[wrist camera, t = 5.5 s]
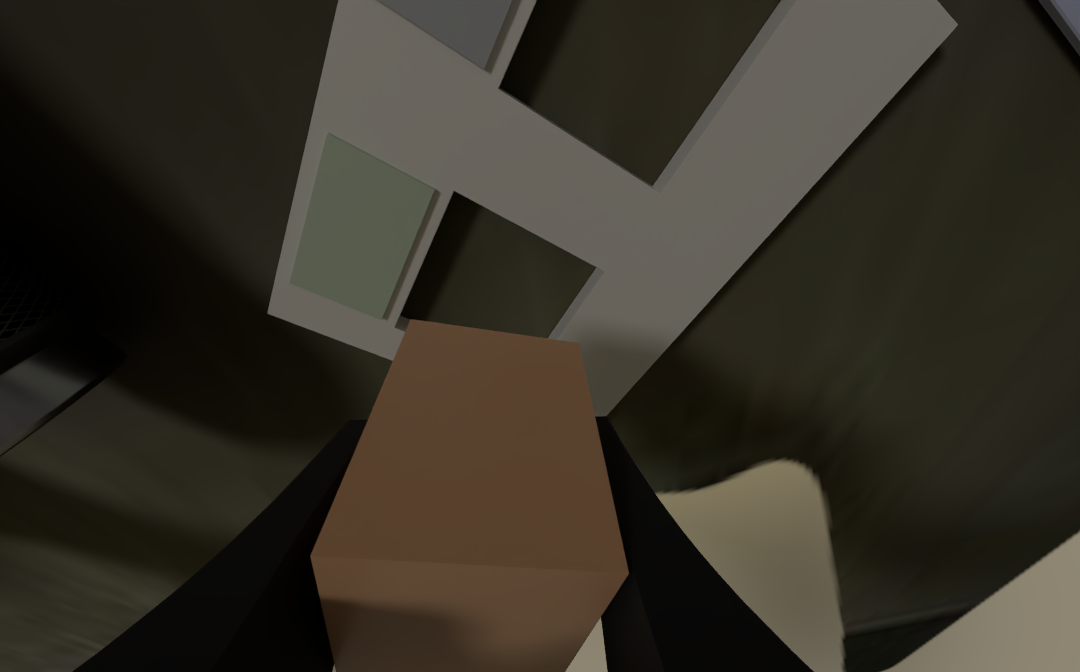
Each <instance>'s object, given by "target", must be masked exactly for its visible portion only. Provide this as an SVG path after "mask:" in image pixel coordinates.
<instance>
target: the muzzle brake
mask: <svg viewBox="0 0 1080 672" xmlns="http://www.w3.org/2000/svg"><path fill="white" fill-rule="evenodd" d="M97 318H98V317H97V315H96V313H95V310H94V308H93V306H92V304H91V303H90V301H89V300H88V299H87V298H85V297H84V296H82V295H81V294H80V293H78V292H77V291H76V290H74V289H73V288H72V287H70V286H69V285H67V284H66V283H65V282H63V281H62V280H61V279H59V278H58V277H57V276H55V275H54V274H53V273H51V272H50V271H48V270H47V269H46V268H44V267H43V266H42V265H40V264H39V263H38V262H36V261H35V260H33V259H32V258H31V257H29V256H28V255H27V254H25V253H24V252H23V251H21V250H20V249H19V248H17V247H16V246H14V245H13V244H12V243H10V242H9V241H8V240H6V239H5V238H4V237H2V236H1V235H0V457H1V456H2V455H4V454H5V453H6V452H8V451H9V450H11V449H12V448H13V447H15V446H16V445H18V444H19V443H20V442H22V441H23V440H25V439H26V438H27V437H29V436H30V435H31V434H33V433H34V432H35V431H37V430H38V429H40V428H41V427H42V426H44V425H45V424H46V423H48V422H49V421H50V420H52V419H53V418H55V417H56V416H57V415H59V414H60V413H61V412H63V411H64V410H65V409H67V408H68V407H69V406H71V405H72V404H73V403H75V402H76V401H77V400H79V399H80V398H81V397H82V396H84V395H85V394H86V393H88V392H89V391H90V390H91V389H93V388H94V387H95V386H97V385H98V384H99V383H100V382H102V381H103V380H104V379H105V378H107V377H108V376H109V375H110V374H111V373H113V372H114V371H115V370H116V369H117V368H118V367H120V366H121V365H122V363H123V362H124V361H125V360H126V358H127V355H126V353H125V352H124V351H123V350H121V349H120V348H118V347H117V346H116V345H114V344H113V343H111V342H110V341H108V340H107V339H106V338H104V337H103V336H101V335H100V334H98V333H97V332H96V331H94V330H93V329H91V328H90V327H88V325H89V324H91V323H92V322H93V321H95V320H96V319H97Z"/></svg>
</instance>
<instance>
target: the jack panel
mask: <svg viewBox="0 0 1080 672" xmlns="http://www.w3.org/2000/svg"><path fill="white" fill-rule="evenodd" d="M536 2H537V0H339V1H338V5H337V10H336V14H335V18H334V23H333V27H332V32H331V36H330V40H329V45H328V49H327V53H326V58H325V62H324V67H323V71H322V75H321V80H320V84H319V89H318V93H317V97H316V102H315V106H314V111H313V115H312V119H311V124H310V128H309V133H308V137H307V141H306V146H305V150H304V155H303V159H302V163H301V168H300V172H299V176H298V181H297V185H296V190H295V194H294V198H293V203H292V207H291V212H290V216H289V220H288V225H287V229H286V234H285V238H284V242H283V247H282V251H281V256H280V260H279V264H278V269H277V273H276V278H275V282H274V286H273V291H272V295H271V299H270V304H269V308H268V313H267V314H270V315H272V316H275V317H278V318H280V319H283V320H286V321H288V322H291V323H294V324H296V325H299V326H302V327H304V328H307V329H310V330H312V331H315V332H318V333H320V334H323V335H326V336H328V337H331V338H334V339H336V340H339V341H342V342H344V343H347V344H350V345H352V346H355V347H358V348H360V349H363V350H366V351H368V352H371V353H374V354H376V355H379V356H382V357H384V358H387V359H390V360H392V361H393V360H394V357H395V355H396V353H397V350H398V348H399V346H400V343H401V341H402V339H403V336H404V334H405V331H406V329H407V327H408V324H409V322H410V319H407V318H405V317H402V316H400V314H401V312H402V310H403V307H404V305H405V303H406V300H407V298H408V296H409V293H410V291H411V289H412V287H413V284H414V282H415V280H416V277H417V275H418V273H419V271H420V268H421V266H422V264H423V261H424V259H425V257H426V254H427V252H428V250H429V248H430V245H431V243H432V241H433V238H434V236H435V234H436V231H437V229H438V227H439V225H440V222H441V220H442V218H443V215H444V213H445V211H446V209H447V206H448V204H449V202H450V199H451V197H452V195H453V192H454V191H456V192H457V193H459V194H461V195H463V196H465V197H467V198H469V199H470V200H472V201H474V202H476V203H478V204H480V205H482V206H484V207H485V208H487V209H489V210H491V211H493V212H495V213H497V214H498V215H500V216H502V217H504V218H506V219H508V220H510V221H512V222H513V223H515V224H517V225H519V226H521V227H523V228H525V229H527V230H528V231H530V232H532V233H534V234H536V235H538V236H540V237H541V238H543V239H545V240H547V241H549V242H551V243H553V244H555V245H556V246H558V247H560V248H562V249H564V250H566V251H568V252H569V253H571V254H573V255H575V256H577V257H579V258H581V259H583V260H584V261H586V262H588V263H590V264H592V265H594V266H596V267H597V268H596V269H595V271H594V272H593V273H592V275H591V276H590V278H589V279H588V281H587V282H586V284H585V285H584V286H583V288H582V289H581V291H580V292H579V294H578V295H577V297H576V298H575V299H574V301H573V302H572V304H571V305H570V307H569V308H568V310H567V311H566V312H565V314H564V315H563V317H562V318H561V320H560V321H559V323H558V324H557V326H556V327H555V328H554V330H553V331H552V333H551V334H550V336H549V337H548V339H554V340H561V341H568V342H575V343H579V345H580V350H581V354H582V359H583V363H584V368H585V373H586V377H587V382H588V386H589V391H590V396H591V400H592V405H593V410H594V414H595V416H607V415H608V414H609V412H610V411H611V410H612V409H613V408H614V407H615V406H616V405H617V404H618V402H619V401H620V400H621V399H622V398H623V397H624V396H625V395H626V394H627V392H628V391H629V390H630V389H631V388H632V387H633V386H634V385H635V383H636V382H637V381H638V380H639V379H640V378H641V377H642V376H643V375H644V373H645V372H646V371H647V370H648V369H649V368H650V367H651V366H652V365H653V363H654V362H655V361H656V360H657V359H658V358H659V357H660V356H661V355H662V353H663V352H664V351H665V350H666V349H667V348H668V347H669V346H670V345H671V343H672V342H673V341H674V340H675V339H676V338H677V337H678V336H679V335H680V333H681V332H682V331H683V330H684V329H685V328H686V327H687V326H688V325H689V323H690V322H691V321H692V320H693V319H694V318H695V317H696V316H697V315H698V313H699V312H700V311H701V310H702V309H703V308H704V307H705V306H706V305H707V303H708V302H709V301H710V300H711V299H712V298H713V297H714V296H715V295H716V293H717V292H718V291H719V290H720V289H721V288H722V287H723V286H724V285H725V283H726V282H727V281H728V280H729V279H730V278H731V277H732V276H733V275H734V273H735V272H736V271H737V270H738V269H739V268H740V267H741V266H742V264H743V263H744V262H745V261H746V260H747V259H748V258H749V257H750V256H751V254H752V253H753V252H754V251H755V250H756V249H757V248H758V247H759V246H760V244H761V243H762V242H763V241H764V240H765V239H766V238H767V237H768V236H769V234H770V233H771V232H772V231H773V230H774V229H775V228H776V227H777V226H778V224H779V223H780V222H781V221H782V220H783V219H784V218H785V217H786V216H787V214H788V213H789V212H790V211H791V210H792V209H793V208H794V207H795V206H796V204H797V203H798V202H799V201H800V200H801V199H802V198H803V197H804V196H805V194H806V193H807V192H808V191H809V190H810V189H811V188H812V187H813V186H814V184H815V183H816V182H817V181H818V180H819V179H820V178H821V177H822V176H823V174H824V173H825V172H826V171H827V170H828V169H829V168H830V167H831V166H832V164H833V163H834V162H835V161H836V160H837V159H838V158H839V157H840V156H841V154H842V153H843V152H844V151H845V150H846V149H847V148H848V147H849V145H850V144H851V143H852V142H853V141H854V140H855V139H856V138H857V137H858V135H859V134H860V133H861V132H862V131H863V130H864V129H865V128H866V127H867V125H868V124H869V123H870V122H871V121H872V120H873V119H874V118H875V117H876V115H877V114H878V113H879V112H880V111H881V110H882V109H883V108H884V107H885V105H886V104H887V103H888V102H889V101H890V100H891V99H892V98H893V97H894V95H895V94H896V93H897V92H898V91H899V90H900V89H901V88H902V87H903V85H904V84H905V83H906V82H907V81H908V80H909V79H910V78H911V77H912V75H913V74H914V73H915V72H916V71H917V70H918V69H919V68H920V67H921V65H922V64H923V63H924V62H925V61H926V60H927V59H928V58H929V57H930V55H931V54H932V53H933V52H934V51H935V50H936V49H937V48H938V47H939V45H940V44H941V43H942V42H943V41H944V40H945V39H946V38H947V37H948V35H949V34H950V33H951V32H952V31H953V30H954V29H955V28H956V27H957V25H958V24H957V23H956V22H955V21H954V20H953V18H952V17H951V16H950V15H949V14H948V13H947V11H946V10H945V9H944V8H943V7H942V6H941V5H940V3H939V2H938V1H937V0H781V1H780V3H779V4H778V6H777V7H776V9H775V10H774V11H773V13H772V14H771V16H770V17H769V19H768V20H767V22H766V23H765V24H764V26H763V27H762V29H761V30H760V32H759V33H758V35H757V36H756V38H755V39H754V40H753V42H752V43H751V45H750V46H749V48H748V49H747V51H746V52H745V53H744V55H743V56H742V58H741V59H740V61H739V62H738V64H737V65H736V66H735V68H734V69H733V71H732V72H731V74H730V75H729V77H728V78H727V79H726V81H725V82H724V84H723V85H722V87H721V88H720V90H719V91H718V93H717V94H716V95H715V97H714V98H713V100H712V101H711V103H710V104H709V106H708V107H707V108H706V110H705V111H704V113H703V114H702V116H701V117H700V119H699V120H698V121H697V123H696V124H695V126H694V127H693V129H692V130H691V132H690V133H689V134H688V136H687V137H686V139H685V140H684V142H683V143H682V145H681V146H680V148H679V149H678V150H677V152H676V153H675V155H674V156H673V158H672V159H671V161H670V162H669V163H668V165H667V166H666V168H665V169H664V171H663V172H662V174H661V175H660V176H659V178H658V179H657V181H656V182H655V184H654V185H653V186H652V185H650V184H649V183H647V182H645V181H644V180H642V179H641V178H639V177H638V176H636V175H635V174H633V173H632V172H630V171H628V170H627V169H625V168H624V167H622V166H621V165H619V164H618V163H616V162H614V161H613V160H611V159H610V158H608V157H607V156H605V155H604V154H602V153H601V152H599V151H597V150H596V149H594V148H593V147H591V146H590V145H588V144H587V143H585V142H583V141H582V140H580V139H579V138H577V137H576V136H574V135H573V134H571V133H570V132H568V131H566V130H565V129H563V128H562V127H560V126H559V125H557V124H556V123H554V122H553V121H551V120H549V119H548V118H546V117H545V116H543V115H542V114H540V113H539V112H537V111H535V110H534V109H532V108H531V107H529V106H528V105H526V104H525V103H523V102H522V101H520V100H518V99H517V98H515V97H514V96H512V95H511V94H509V93H508V92H506V91H504V90H503V89H501V88H500V85H501V82H502V80H503V78H504V75H505V73H506V71H507V68H508V66H509V64H510V62H511V59H512V57H513V55H514V52H515V50H516V48H517V46H518V43H519V41H520V39H521V36H522V34H523V32H524V29H525V27H526V25H527V23H528V20H529V18H530V16H531V13H532V11H533V9H534V6H535V4H536Z"/></svg>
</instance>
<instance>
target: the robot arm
mask: <svg viewBox="0 0 1080 672" xmlns="http://www.w3.org/2000/svg"><path fill="white" fill-rule="evenodd" d="M1038 1H1039V2H1040V3H1041V5H1042V6H1043V7H1044V9H1045V10H1046V11H1047V13H1048V14H1049V15H1050V17H1051V18H1052V19H1053V21H1054V22H1055V23H1056V25H1057V26H1058V27H1059V29H1060V30H1061V31H1062V33H1063V34H1064V36H1065V37H1066V38H1067V40H1068V41H1069V42H1070V44H1071V45H1072V46H1073V48H1074V49H1075V50H1076V52H1077V53H1078V54H1079V56H1080V0H1038ZM595 419H596V423H597V428H598V433H599V437H600V442H601V446H602V451H603V456H604V460H605V465H606V469H607V474H608V479H609V483H610V488H611V493H612V497H613V502H614V506H615V511H616V516H617V520H618V525H619V529H620V534H621V539H622V543H623V548H624V552H625V557H626V562H627V566H628V571H629V574H628V576H627V577H626V579H625V580H624V582H623V584H622V585H621V587H620V588H619V590H618V591H617V593H616V594H615V596H614V597H613V599H612V600H611V602H610V603H609V605H608V607H607V608H606V610H605V611H604V613H603V614H602V616H601V621H602V628H603V636H604V645H605V653H606V661H607V670H608V672H814V671H812V670H811V669H810V668H809V667H808V666H807V665H806V664H805V663H804V662H803V661H802V660H801V659H800V658H799V657H798V656H797V655H796V654H795V653H794V652H792V651H791V650H790V648H788V646H787V645H786V644H784V642H783V641H781V639H780V638H779V637H778V636H777V635H776V634H775V633H774V632H773V631H772V630H771V629H770V628H769V627H768V626H767V625H766V624H765V623H764V622H763V621H762V620H761V619H760V618H759V617H758V616H757V615H756V614H755V613H754V612H753V611H752V610H751V609H750V608H749V607H748V606H747V605H746V604H745V603H744V602H743V600H742V599H740V597H739V596H738V595H737V594H736V593H735V592H734V591H733V590H732V588H731V587H730V586H729V585H728V584H727V583H726V582H725V581H724V580H723V579H722V578H721V576H720V575H719V574H718V573H717V572H716V571H715V569H714V568H713V567H712V566H711V565H710V564H709V562H708V561H707V560H706V559H705V558H704V557H703V555H702V554H701V553H700V552H699V551H698V549H697V548H696V547H695V546H694V545H693V543H692V542H691V541H690V540H689V538H688V537H687V536H686V534H685V533H684V532H683V531H682V529H681V528H680V527H679V526H678V524H677V523H676V522H675V520H674V519H673V518H672V516H671V515H670V514H669V512H668V511H667V510H666V508H665V507H664V505H663V504H662V503H661V501H660V500H659V499H658V497H657V496H656V494H655V493H654V491H653V490H652V488H651V487H650V486H649V484H648V483H647V481H646V480H645V478H644V477H643V475H642V474H641V472H640V471H639V469H638V468H637V466H636V465H635V463H634V461H633V460H632V458H631V457H630V455H629V453H628V452H627V450H626V448H625V447H624V445H623V443H622V442H621V440H620V438H619V436H618V435H617V433H616V431H615V429H614V427H613V426H612V424H611V422H610V420H609V419H608V418H607V417H606V416H595ZM367 421H368V420H349V421H348V422H347V423H346V424H345V425H344V426H343V427H342V428H341V429H340V430H339V431H338V432H337V433H336V434H335V436H334V437H333V438H332V439H331V440H330V441H329V442H328V443H327V444H326V445H325V447H324V448H323V449H322V450H321V451H320V452H319V453H318V454H317V455H316V456H315V457H314V459H313V460H312V461H311V462H310V463H309V464H308V465H307V466H306V467H305V468H304V469H303V470H302V471H301V473H300V474H299V475H298V476H297V477H296V478H295V479H294V480H293V481H292V482H291V483H290V484H289V485H288V486H287V487H286V488H285V489H284V490H283V491H282V492H281V493H280V494H279V495H278V497H277V498H276V499H275V500H274V501H273V502H272V503H271V504H270V505H269V506H268V507H267V508H266V509H265V510H264V511H262V512H261V513H260V514H259V515H258V516H257V517H256V518H255V519H254V520H253V521H252V522H251V523H250V524H249V525H248V526H247V527H246V528H245V529H244V530H243V531H242V532H241V533H240V534H239V535H238V536H237V537H236V538H235V539H234V540H232V541H231V542H230V543H229V544H228V545H227V546H226V547H225V548H224V549H223V550H222V551H220V552H219V553H218V554H217V555H216V556H215V557H214V558H213V559H212V560H211V561H209V562H208V563H207V564H206V565H205V566H204V567H203V568H201V569H200V570H199V571H198V572H197V573H196V574H195V575H193V576H192V577H191V578H190V579H189V580H188V581H186V582H185V583H184V584H183V585H182V586H181V587H179V588H178V589H177V590H176V591H175V592H174V593H172V594H171V595H170V596H169V597H167V598H166V599H165V600H164V601H162V602H161V603H160V604H159V605H158V606H156V607H155V608H154V609H153V610H151V611H150V612H149V613H148V614H146V615H145V616H144V617H143V618H141V619H140V620H139V621H138V622H136V623H135V624H134V625H133V626H131V627H130V628H129V629H127V630H126V631H125V632H124V633H122V634H121V635H120V636H119V637H117V638H116V639H115V640H114V641H112V642H111V643H110V644H109V645H107V646H106V647H105V648H103V649H102V650H101V651H100V652H98V653H97V654H96V655H94V656H93V657H92V658H90V659H89V660H87V661H86V662H85V663H83V664H82V665H81V666H79V667H78V668H77V669H75V670H74V671H73V672H332V670H333V666H334V660H333V655H332V651H331V646H330V642H329V637H328V633H327V628H326V624H325V619H324V615H323V610H322V606H321V601H320V597H319V593H318V588H317V584H316V579H315V575H314V570H313V566H312V561H311V557H310V556H311V553H312V551H313V549H314V546H315V544H316V541H317V539H318V537H319V534H320V532H321V530H322V527H323V525H324V523H325V520H326V518H327V516H328V513H329V511H330V508H331V506H332V504H333V501H334V499H335V497H336V494H337V492H338V490H339V487H340V485H341V482H342V480H343V478H344V475H345V473H346V471H347V468H348V466H349V464H350V461H351V459H352V457H353V454H354V452H355V449H356V447H357V445H358V442H359V440H360V438H361V435H362V433H363V431H364V428H365V426H366V423H367Z"/></svg>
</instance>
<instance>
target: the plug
mask: <svg viewBox="0 0 1080 672" xmlns="http://www.w3.org/2000/svg"><path fill="white" fill-rule="evenodd" d="M310 557H311V561H312V566H313V570H314V575H315V579H316V584H317V588H318V593H319V597H320V601H321V606H322V610H323V615H324V619H325V624H326V628H327V633H328V637H329V642H330V646H331V651H332V655H333V660H334V664H335V668H336V672H565V671H566V669H567V668H568V666H569V665H570V663H571V662H572V660H573V659H574V657H575V656H576V654H577V652H578V651H579V649H580V648H581V646H582V645H583V643H584V642H585V640H586V639H587V637H588V636H589V634H590V633H591V631H592V630H593V628H594V626H595V625H596V623H597V622H598V620H599V619H600V617H601V616H602V614H603V613H604V611H605V610H606V608H607V607H608V605H609V603H610V602H611V600H612V599H613V597H614V596H615V594H616V593H617V591H618V590H619V588H620V587H621V585H622V584H623V582H624V580H625V579H626V577H627V576H628V574H629V571H628V566H627V562H626V557H625V552H624V548H623V543H622V539H621V534H620V529H619V525H618V520H617V516H616V511H615V506H614V502H613V497H612V493H611V488H610V483H609V479H608V474H607V469H606V465H605V460H604V456H603V451H602V446H601V442H600V437H599V433H598V428H597V423H596V419H595V414H594V410H593V405H592V400H591V396H590V391H589V386H588V382H587V377H586V373H585V368H584V363H583V359H582V354H581V350H580V345H579V343H575V342H568V341H561V340H554V339H547V338H540V337H533V336H526V335H519V334H512V333H505V332H498V331H491V330H484V329H477V328H470V327H463V326H456V325H449V324H442V323H435V322H428V321H421V320H414V319H411V320H410V322H409V324H408V327H407V329H406V331H405V334H404V336H403V339H402V341H401V343H400V346H399V348H398V350H397V353H396V355H395V357H394V360H393V362H392V364H391V367H390V369H389V372H388V374H387V376H386V379H385V381H384V383H383V386H382V388H381V390H380V393H379V395H378V398H377V400H376V402H375V405H374V407H373V409H372V412H371V414H370V416H369V419H368V421H367V423H366V426H365V428H364V431H363V433H362V435H361V438H360V440H359V442H358V445H357V447H356V449H355V452H354V454H353V457H352V459H351V461H350V464H349V466H348V468H347V471H346V473H345V475H344V478H343V480H342V482H341V485H340V487H339V490H338V492H337V494H336V497H335V499H334V501H333V504H332V506H331V508H330V511H329V513H328V516H327V518H326V520H325V523H324V525H323V527H322V530H321V532H320V534H319V537H318V539H317V541H316V544H315V546H314V549H313V551H312V553H311V556H310Z"/></svg>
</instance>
